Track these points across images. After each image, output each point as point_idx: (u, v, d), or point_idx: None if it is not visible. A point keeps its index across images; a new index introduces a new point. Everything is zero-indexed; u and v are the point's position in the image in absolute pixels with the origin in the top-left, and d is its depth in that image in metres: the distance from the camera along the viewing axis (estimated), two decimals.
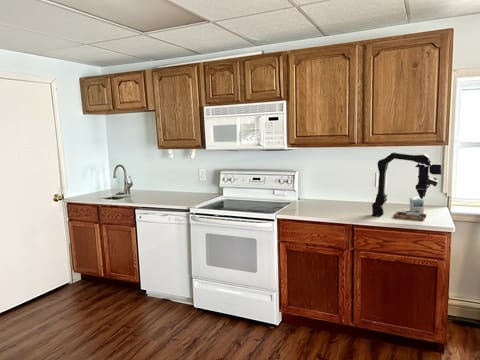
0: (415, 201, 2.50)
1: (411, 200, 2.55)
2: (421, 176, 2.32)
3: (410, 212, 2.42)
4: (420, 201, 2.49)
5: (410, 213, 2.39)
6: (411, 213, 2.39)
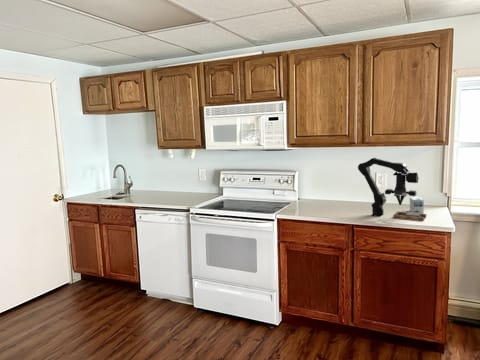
0: (415, 201, 2.50)
1: (411, 200, 2.55)
2: None
3: (410, 212, 2.42)
4: (420, 201, 2.49)
5: (410, 213, 2.39)
6: (411, 213, 2.39)
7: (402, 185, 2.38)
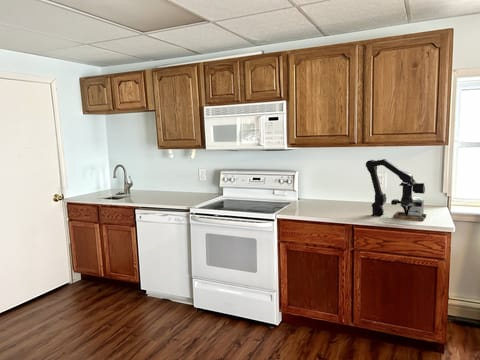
0: (415, 201, 2.50)
1: None
2: None
3: (411, 212, 2.42)
4: None
5: (411, 213, 2.39)
6: (412, 213, 2.39)
7: (408, 196, 2.37)
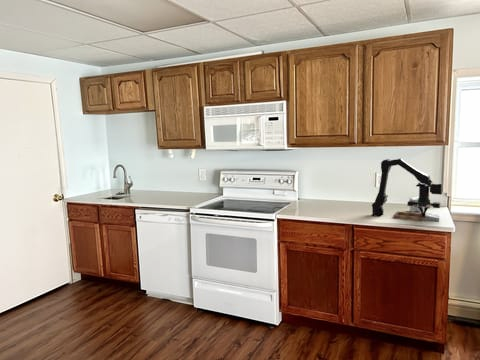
0: (415, 201, 2.50)
1: None
2: None
3: (428, 214, 2.37)
4: None
5: (429, 215, 2.34)
6: (430, 215, 2.34)
7: (426, 197, 2.31)
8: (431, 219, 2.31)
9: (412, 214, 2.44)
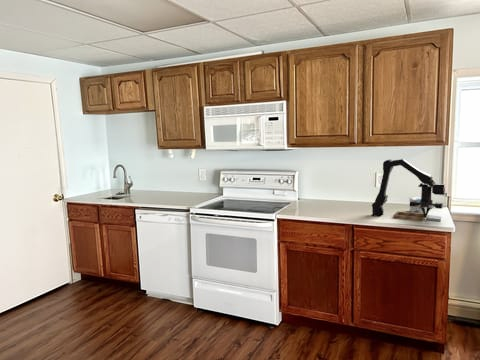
0: None
1: (411, 200, 2.55)
2: None
3: (429, 216, 2.37)
4: None
5: (430, 217, 2.34)
6: (431, 217, 2.34)
7: (428, 197, 2.30)
8: None
9: (412, 214, 2.44)
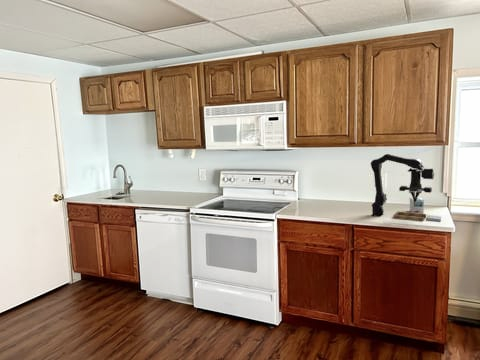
0: None
1: (411, 200, 2.55)
2: None
3: (429, 216, 2.37)
4: (420, 201, 2.49)
5: (430, 217, 2.34)
6: (431, 217, 2.34)
7: (417, 181, 2.33)
8: None
9: (412, 214, 2.44)
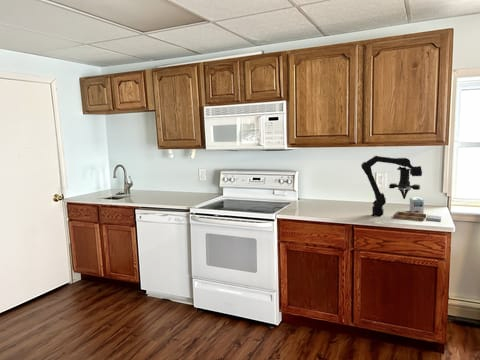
0: (415, 201, 2.50)
1: (411, 200, 2.55)
2: None
3: (429, 216, 2.37)
4: (420, 201, 2.49)
5: (430, 217, 2.34)
6: (431, 217, 2.34)
7: (406, 179, 2.43)
8: None
9: (412, 214, 2.44)
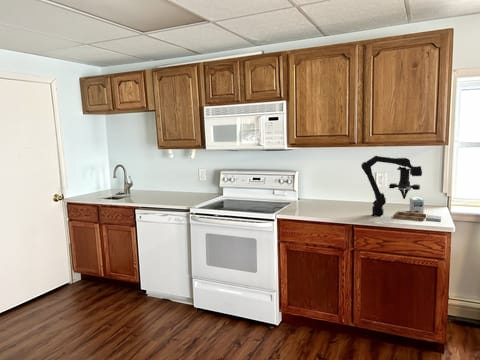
0: (415, 201, 2.50)
1: (411, 200, 2.55)
2: None
3: (429, 216, 2.37)
4: (420, 201, 2.49)
5: (430, 217, 2.34)
6: (431, 217, 2.34)
7: (406, 179, 2.43)
8: None
9: (412, 214, 2.44)
